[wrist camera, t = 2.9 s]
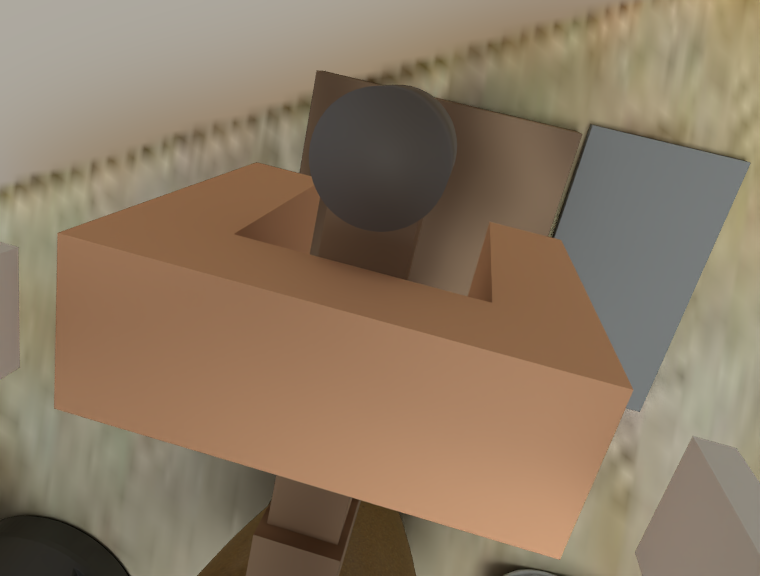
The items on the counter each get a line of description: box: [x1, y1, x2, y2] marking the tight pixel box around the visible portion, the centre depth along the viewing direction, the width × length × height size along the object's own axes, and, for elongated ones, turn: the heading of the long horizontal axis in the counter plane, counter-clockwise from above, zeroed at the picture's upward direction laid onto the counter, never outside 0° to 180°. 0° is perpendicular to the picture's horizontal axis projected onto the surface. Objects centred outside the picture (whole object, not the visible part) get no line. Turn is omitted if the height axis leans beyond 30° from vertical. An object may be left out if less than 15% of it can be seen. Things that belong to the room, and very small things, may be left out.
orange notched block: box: [54, 162, 633, 560], centre depth 16 cm, size 11×4×10 cm, turn 78°
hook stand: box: [246, 71, 582, 576], centre depth 24 cm, size 14×15×22 cm
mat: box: [552, 125, 750, 412], centre depth 33 cm, size 8×15×1 cm, turn 168°
